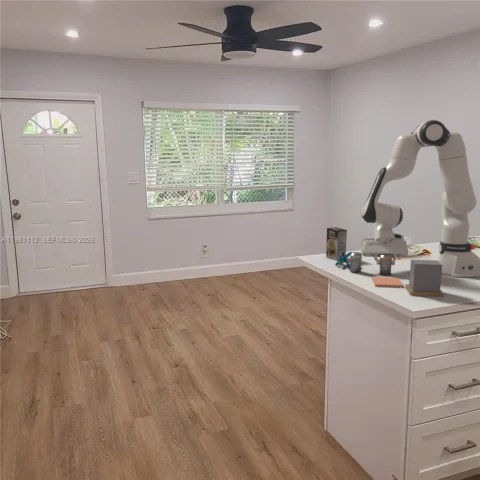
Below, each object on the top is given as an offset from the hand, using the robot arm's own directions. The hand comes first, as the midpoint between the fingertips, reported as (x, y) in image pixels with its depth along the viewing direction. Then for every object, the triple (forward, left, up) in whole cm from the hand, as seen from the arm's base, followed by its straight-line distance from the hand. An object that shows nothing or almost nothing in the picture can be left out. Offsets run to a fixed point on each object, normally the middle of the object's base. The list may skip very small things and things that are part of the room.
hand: (385, 264), depth 195 cm
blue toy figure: (+18, -13, -5) cm, 23 cm away
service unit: (-11, +24, -5) cm, 27 cm away
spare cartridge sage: (+13, -3, -5) cm, 14 cm away
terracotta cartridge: (0, -1, -5) cm, 5 cm away
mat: (+2, +14, -5) cm, 15 cm away
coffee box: (+21, -29, -5) cm, 36 cm away
